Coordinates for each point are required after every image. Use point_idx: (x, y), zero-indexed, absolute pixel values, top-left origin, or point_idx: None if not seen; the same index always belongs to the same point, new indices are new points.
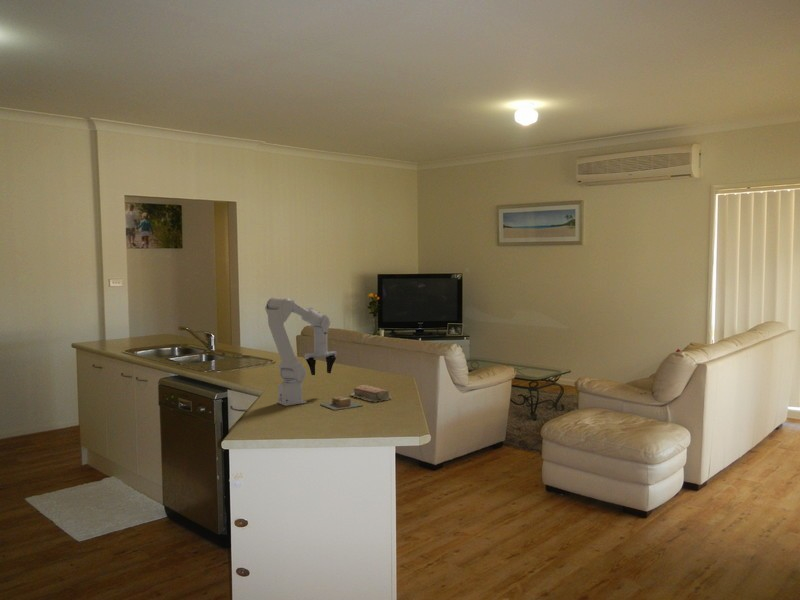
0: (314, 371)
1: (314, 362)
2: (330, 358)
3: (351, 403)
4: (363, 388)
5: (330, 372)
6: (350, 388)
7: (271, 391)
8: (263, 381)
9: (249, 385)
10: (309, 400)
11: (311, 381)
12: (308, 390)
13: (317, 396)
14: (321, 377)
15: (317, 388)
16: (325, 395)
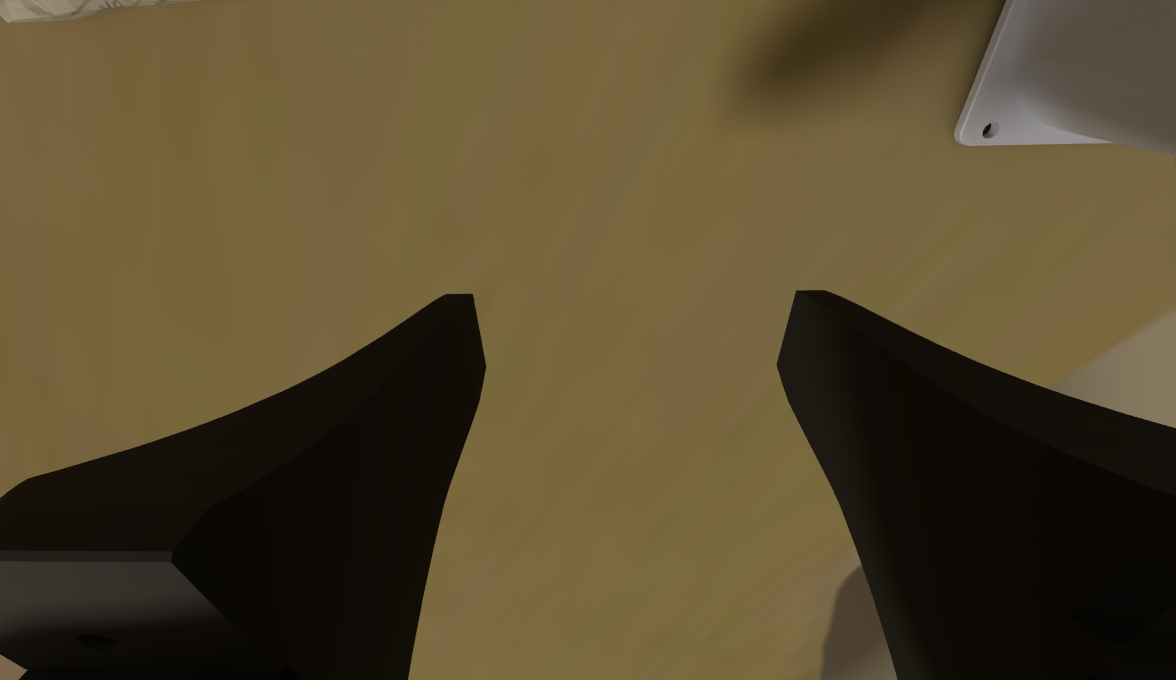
0: (855, 314)
1: (1121, 452)
2: (270, 572)
3: None
4: None
5: (445, 297)
6: (243, 337)
7: (826, 521)
8: (687, 676)
9: (799, 651)
10: (882, 23)
11: (467, 603)
12: (604, 438)
13: (671, 188)
14: None
15: (512, 459)
16: (575, 185)
